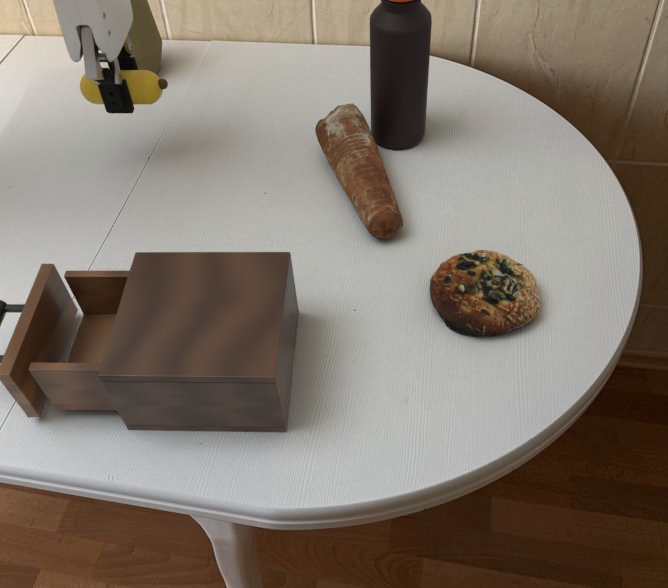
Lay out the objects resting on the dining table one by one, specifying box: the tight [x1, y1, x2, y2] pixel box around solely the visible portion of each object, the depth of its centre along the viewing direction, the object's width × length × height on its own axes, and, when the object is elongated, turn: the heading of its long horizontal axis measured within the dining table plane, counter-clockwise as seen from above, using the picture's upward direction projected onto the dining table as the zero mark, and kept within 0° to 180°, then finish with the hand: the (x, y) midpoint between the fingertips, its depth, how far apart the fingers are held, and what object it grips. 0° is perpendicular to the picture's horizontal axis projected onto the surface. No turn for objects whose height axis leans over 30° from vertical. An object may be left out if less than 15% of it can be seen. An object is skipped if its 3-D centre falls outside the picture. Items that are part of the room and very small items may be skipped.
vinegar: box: [369, 0, 433, 150], centre depth 80 cm, size 7×7×20 cm
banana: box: [79, 70, 169, 105], centre depth 81 cm, size 10×4×4 cm, turn 87°
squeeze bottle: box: [129, 0, 163, 75], centre depth 93 cm, size 8×8×18 cm
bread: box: [314, 102, 404, 239], centre depth 80 cm, size 6×19×6 cm, turn 14°
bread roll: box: [428, 249, 542, 337], centre depth 70 cm, size 11×11×5 cm
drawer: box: [0, 263, 130, 418], centre depth 65 cm, size 18×13×7 cm
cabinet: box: [98, 251, 300, 433], centre depth 64 cm, size 15×14×9 cm
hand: (125, 99), depth 82 cm, fingers closed on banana, 3 cm apart
